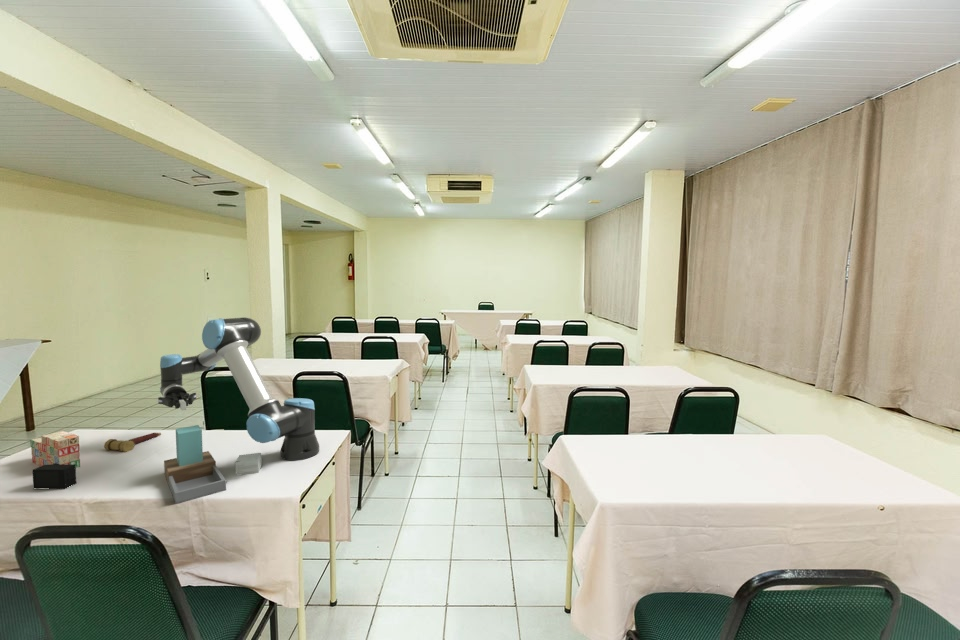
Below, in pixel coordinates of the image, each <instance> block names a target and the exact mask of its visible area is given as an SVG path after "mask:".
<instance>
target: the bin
mask: <svg viewBox="0 0 960 640" xmlns="http://www.w3.org/2000/svg"><path fill="white" fill-rule="evenodd" d="M168 488H169V490H170V492H171V495H172V498H173V501H174V503H175V504H176V505H177V504H181V503H185V502H188V501H191V500H195V499H199V498H203V497H206V496H210V495H213V494H217V493H220V492H223V491H224V492H225V491H227V480H226V478H225V477H224V475H223V473H222V472H221V471H220V469H219V468H218V466H217V464H216V465H215V466H213V474H212V475H208V476H204V477H200V478H196V479H192V480H188V481H184V482H180V483H176V484H175V481H174V479H173V476H169V485H168Z"/></svg>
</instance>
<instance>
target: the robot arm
mask: <svg viewBox="0 0 960 640" xmlns="http://www.w3.org/2000/svg"><path fill="white" fill-rule="evenodd" d="M261 333H262V328H261V326H260V324H259V323H258V322H257V321H256V320H255V319H252V318H250V317H233V318H231V317H230V318H217V319H210V320H209V321H207V322H206V323H205V324H204V326H203V329H202V333H201V340H202V343H203V345H204V347H205V348H206V349H205V350H204V351H202V352H200V353H199V354H197V355H194V356H193V355H192V356H186V357H185V356H184V357H182V355H181V354H178V353H177V354H176V353H175V354H174V353H173V354H165V355H162V356H161V357H160V360H159V361H160V363H159V368H160V376H161V377H160V388H159V390H160V394H161V395H162V397H161V396H160V397H158V398H157V399H158V404H159V405H164V406H166V407H168V408H173V407H175V408H174V409H175V410H176V409H180V410H181V412H183V411H186V410H187V407H188V406H190V405H191V406H192V405H193V404H194V401H195V400H197V393H196V392H192V393H188V392H187V391H186V389H185V388H184V387H183V375H188V374H194V373H200V372H207V371H209V370H211V371H212V370H214V368H215V367H216V365H217V363H219V362H221V361H222V360H224V361H225V363H226V365H227V367H228V369H229V371H230V373H231V375H232V377H233V379H234V381H235V382H236V384H237V387H238V388H239V391H240V393H241V394H242V396H243V399H244V400H245V402H246V405H247V406H248V408H249V411H248V413H247V417H248V419H247V420H246V424H245V425H246V431H247V434H248V436H249V437H251V439H252V440H254V442H257V443H259V444H267V443H270V442H274V441H277V440H279V439H280V438H282V437H284V438H283V441H282V444H281V447H280V452H279V453H280V454H279V455H280V458H281V459H283V460H289V461H300V460H304V459H309V458H312V457H314V456H316V455H318V453H320V444H319V440H318V438H317V436H316V429H315V428H316V426H315V424H316V420H315V419H316V418H315V417H316V416H315V415H316V414H315V413H316V411H315V410H316V408H315V402H314V400H312V399H310V398H301V397H299V398H298V397H293V398H286V399H285V400H284V402H283V405H281V403H280V401H279V399H275V398H273V397H272V395H271V392H270V390H269V389H268V387H267V385H266V383H265V382H264V379H263V378H262V376H261V374H260V372H259V370H258V368H257V366H256V364H255V362H254V360H253V358H252V356H251V354H250V353H249V351H248V347H250V346H252V345H253V344H255V343H256V342H258V340H259V339H260V338H261V335H262V334H261Z"/></svg>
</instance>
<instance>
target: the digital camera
mask: <svg viewBox="0 0 960 640" xmlns="http://www.w3.org/2000/svg"><path fill="white" fill-rule="evenodd" d="M76 471H77V470H76V467H75V465H60V464H57V463H55V464H52V465H43V466H41V465H39V466H38V467H36V468H33V469H32V482H33V483H32V485H33V489H34V488H49V489H48V490H66V489H68V488H70V487H72V486H74V485H76V484H77V472H76ZM75 483H76V484H75ZM73 484H74V485H73ZM71 485H72V486H71ZM69 486H70V487H69ZM67 487H68V488H67ZM65 488H66V489H65Z"/></svg>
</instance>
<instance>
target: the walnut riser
mask: <svg viewBox="0 0 960 640" xmlns="http://www.w3.org/2000/svg"><path fill="white" fill-rule="evenodd" d="M216 462H217V461H216V459H214V457H213V455H212V454H211V452H210V451H209V450H207V451H203V461H202V462H198V463H194V464H189V465H185V466H181V467H180V466H179V464H178V462H177V457H175V458H170V459H166V460H164V461H163V466H164V467H163V470H164V471H163V472H164V476H165V478H166V481H167V484H168V486H169V476H173V479H174V481H175V484H176V483H180V482H184V481H188V480H192V479H196V478H200V477H204V476H208V475H212V474H213V466H215V465H216V466H217V464H216Z"/></svg>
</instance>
